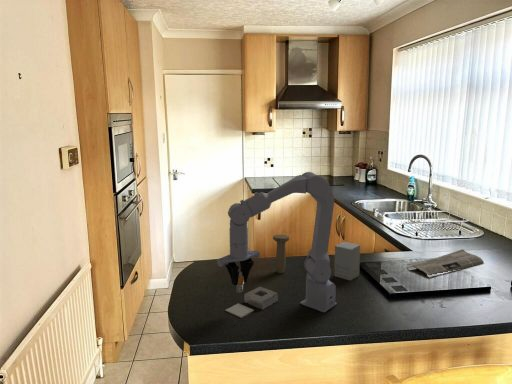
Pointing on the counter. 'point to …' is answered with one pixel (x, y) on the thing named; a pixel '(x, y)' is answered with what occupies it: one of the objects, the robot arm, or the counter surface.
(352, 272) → the supplement box
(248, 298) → the block
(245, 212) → the robot arm
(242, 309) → the mat
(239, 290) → the amber medicine bottle
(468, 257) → the newspaper
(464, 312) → the counter surface
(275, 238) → the handle
